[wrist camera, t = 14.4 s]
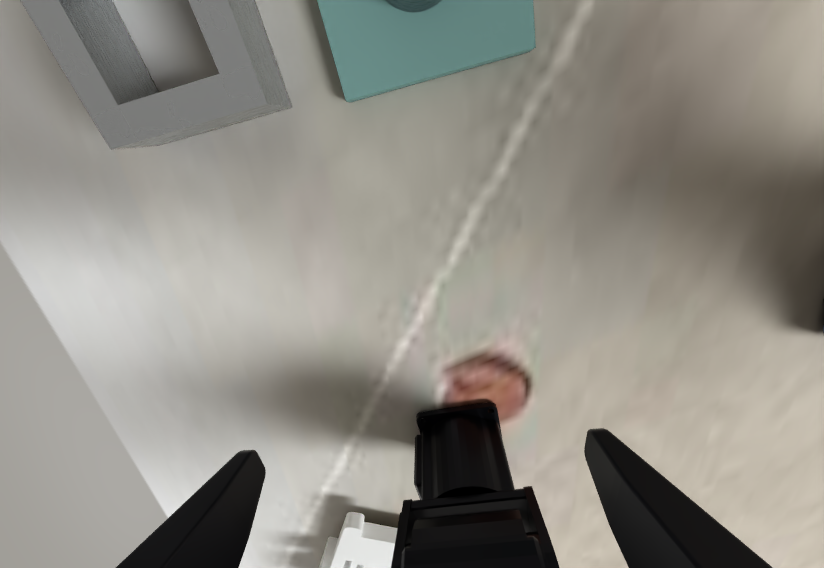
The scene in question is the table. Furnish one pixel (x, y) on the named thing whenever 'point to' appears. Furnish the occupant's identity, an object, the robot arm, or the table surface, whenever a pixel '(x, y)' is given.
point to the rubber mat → (420, 40)
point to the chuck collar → (132, 84)
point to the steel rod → (413, 5)
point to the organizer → (360, 545)
